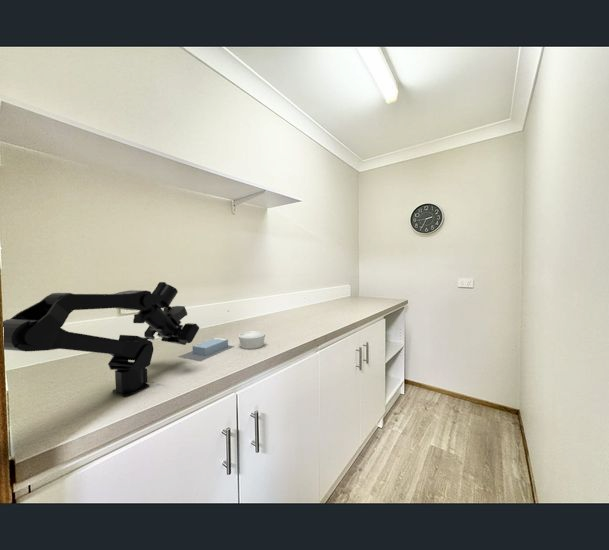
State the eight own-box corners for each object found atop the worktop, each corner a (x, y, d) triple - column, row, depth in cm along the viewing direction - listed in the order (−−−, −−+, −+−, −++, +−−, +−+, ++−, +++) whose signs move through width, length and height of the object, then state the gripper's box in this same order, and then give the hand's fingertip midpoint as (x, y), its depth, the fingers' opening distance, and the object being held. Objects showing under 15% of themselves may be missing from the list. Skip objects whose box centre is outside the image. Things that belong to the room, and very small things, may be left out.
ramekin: (241, 342, 110) (241, 331, 110) (266, 342, 111) (266, 330, 110) (235, 351, 99) (235, 338, 99) (263, 350, 99) (263, 337, 99)
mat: (200, 362, 87) (200, 361, 87) (177, 357, 93) (177, 356, 93) (234, 347, 104) (234, 346, 104) (213, 343, 109) (213, 343, 109)
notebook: (205, 348, 93) (227, 339, 103) (192, 345, 96) (215, 337, 106) (205, 356, 93) (228, 346, 103) (192, 353, 96) (215, 344, 107)
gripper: (194, 299, 80) (217, 326, 91) (151, 298, 85) (177, 323, 96) (175, 329, 72) (202, 354, 83) (129, 325, 78) (160, 349, 89)
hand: (185, 343), depth 88 cm, fingers closed
